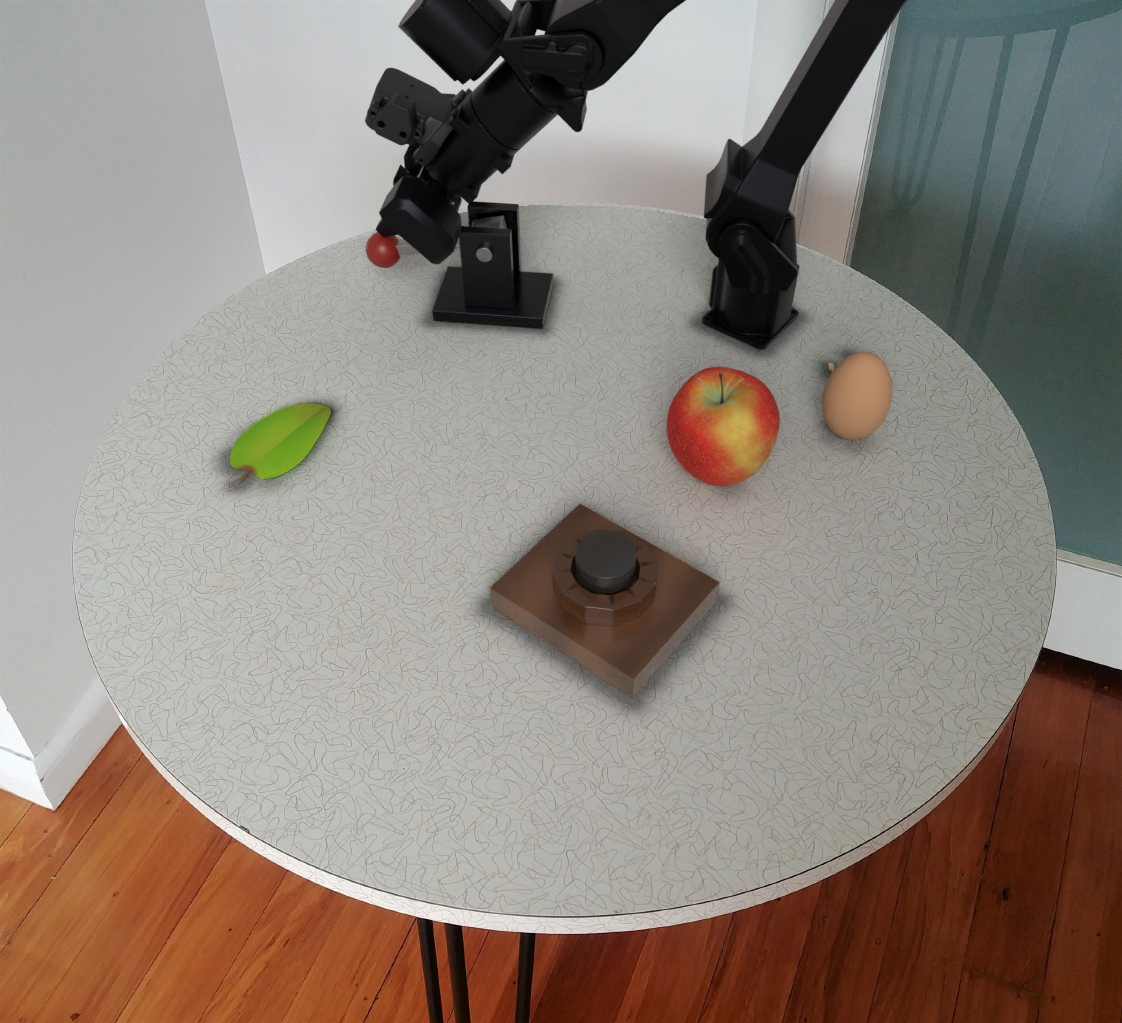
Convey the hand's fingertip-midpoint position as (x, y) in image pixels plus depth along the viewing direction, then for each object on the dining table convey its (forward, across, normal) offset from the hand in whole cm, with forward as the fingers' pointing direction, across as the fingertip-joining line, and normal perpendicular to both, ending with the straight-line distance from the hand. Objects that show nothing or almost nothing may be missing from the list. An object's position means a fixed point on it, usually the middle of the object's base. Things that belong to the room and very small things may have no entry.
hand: (380, 231), depth 93 cm
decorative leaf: (+8, +21, +2) cm, 22 cm away
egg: (-24, +14, +34) cm, 44 cm away
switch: (-2, 0, +5) cm, 6 cm away
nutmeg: (-24, +6, +34) cm, 43 cm away
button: (-14, +34, +19) cm, 41 cm away
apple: (-17, +20, +27) cm, 37 cm away
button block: (-12, +34, +21) cm, 42 cm away
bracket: (-2, 0, +12) cm, 12 cm away
